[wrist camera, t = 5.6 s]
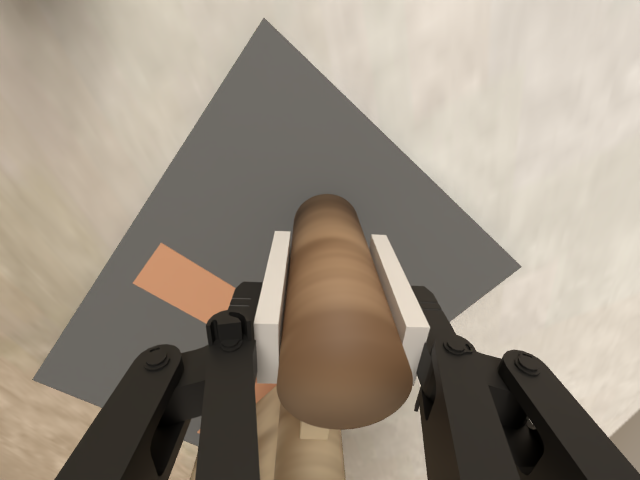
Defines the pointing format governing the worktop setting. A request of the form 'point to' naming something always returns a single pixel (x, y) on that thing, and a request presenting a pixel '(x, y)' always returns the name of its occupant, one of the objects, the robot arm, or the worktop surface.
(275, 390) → the fixed fence section
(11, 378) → the worktop surface
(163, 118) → the worktop surface
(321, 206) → the wooden fence section
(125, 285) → the mat
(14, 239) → the worktop surface
